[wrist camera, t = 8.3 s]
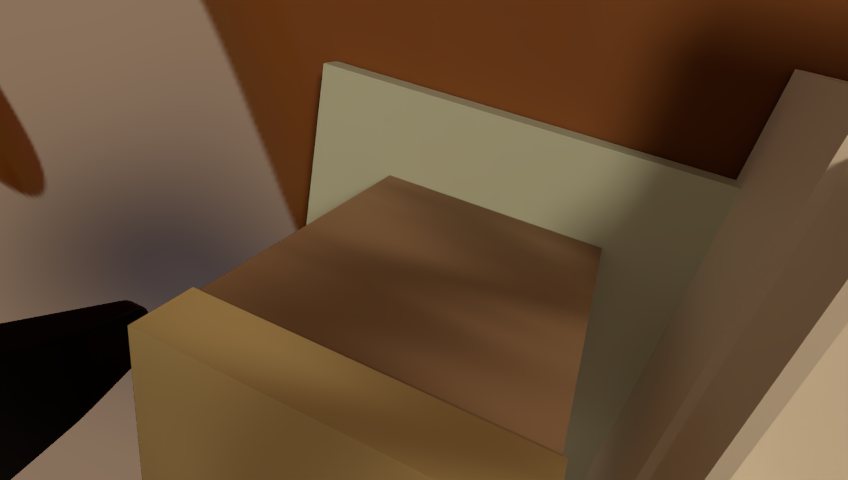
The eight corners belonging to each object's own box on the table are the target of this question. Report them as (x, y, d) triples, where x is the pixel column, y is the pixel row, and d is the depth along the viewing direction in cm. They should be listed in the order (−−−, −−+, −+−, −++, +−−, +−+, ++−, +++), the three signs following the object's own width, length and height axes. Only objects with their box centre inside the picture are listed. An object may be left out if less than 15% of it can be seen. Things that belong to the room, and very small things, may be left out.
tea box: (605, 246, 11) (552, 539, 5) (533, 418, 13) (437, 758, 7) (388, 172, 12) (127, 325, 6) (358, 340, 14) (150, 572, 8)
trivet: (741, 181, 10) (746, 190, 9) (579, 482, 14) (577, 499, 13) (337, 61, 12) (323, 63, 11) (302, 351, 16) (291, 362, 16)
